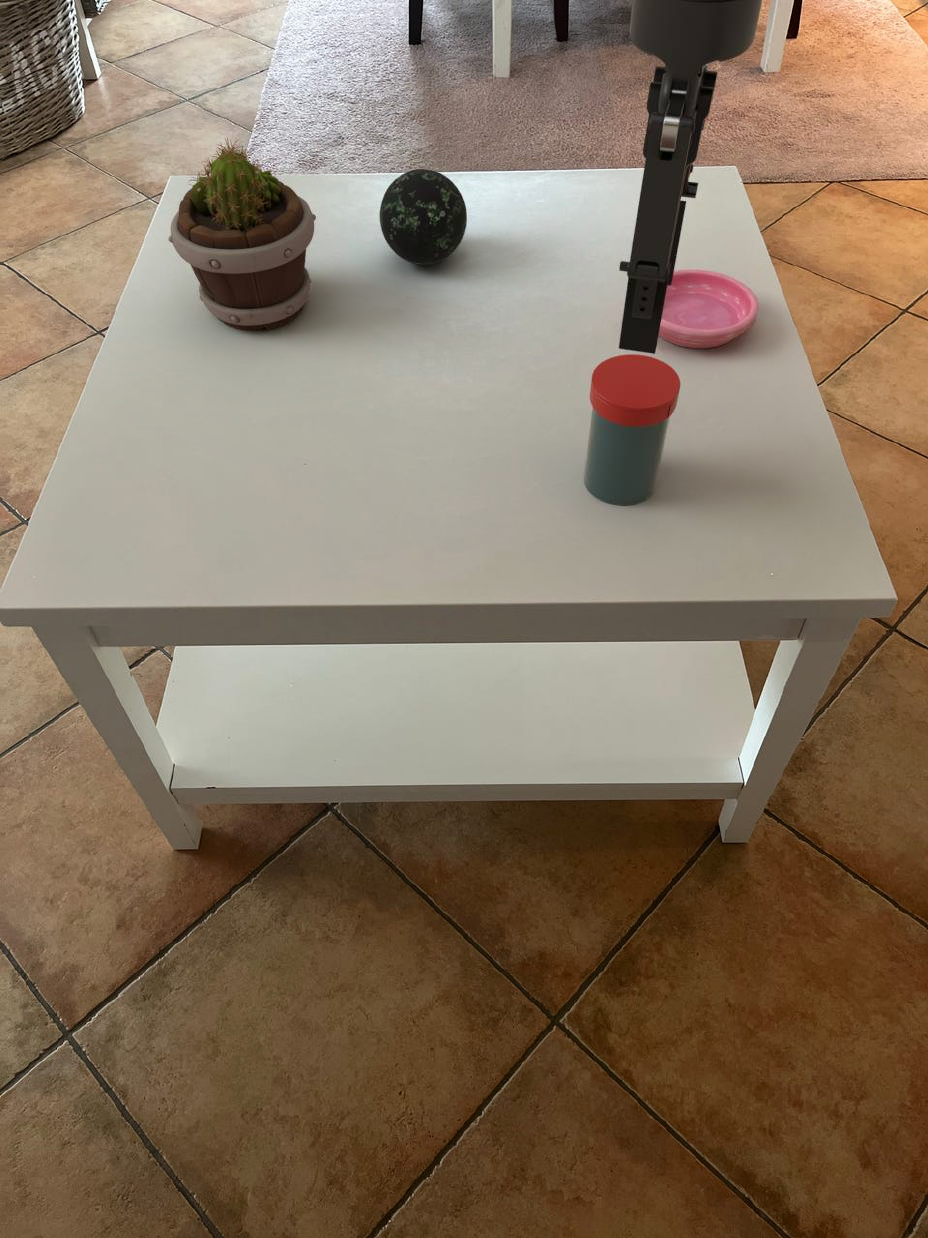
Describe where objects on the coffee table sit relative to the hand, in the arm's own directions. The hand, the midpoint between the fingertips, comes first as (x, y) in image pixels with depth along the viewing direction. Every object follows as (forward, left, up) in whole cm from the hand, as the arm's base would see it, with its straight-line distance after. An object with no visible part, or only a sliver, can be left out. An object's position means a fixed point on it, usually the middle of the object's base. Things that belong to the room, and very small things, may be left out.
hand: (646, 312), depth 71 cm
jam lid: (0, 0, -7) cm, 7 cm away
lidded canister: (0, 0, -17) cm, 17 cm away
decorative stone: (+41, -14, -18) cm, 47 cm away
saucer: (+10, -25, -18) cm, 32 cm away
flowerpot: (+47, +6, -18) cm, 51 cm away
